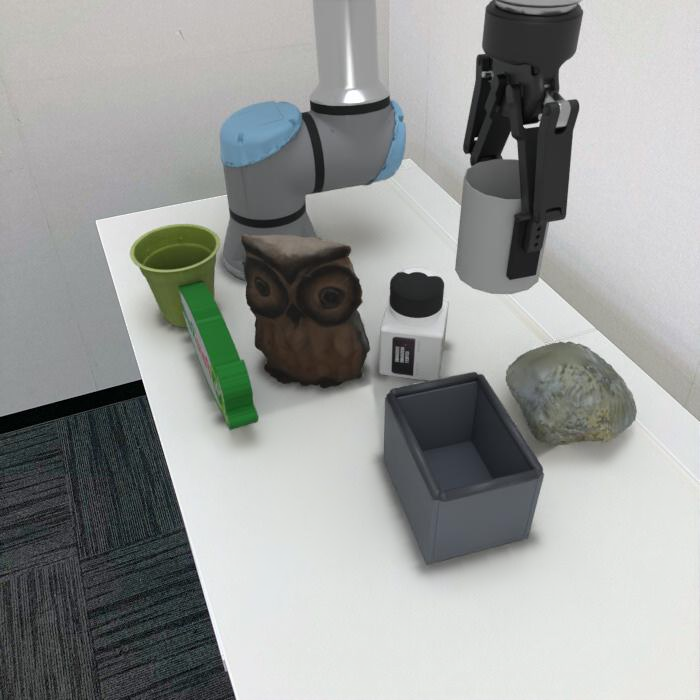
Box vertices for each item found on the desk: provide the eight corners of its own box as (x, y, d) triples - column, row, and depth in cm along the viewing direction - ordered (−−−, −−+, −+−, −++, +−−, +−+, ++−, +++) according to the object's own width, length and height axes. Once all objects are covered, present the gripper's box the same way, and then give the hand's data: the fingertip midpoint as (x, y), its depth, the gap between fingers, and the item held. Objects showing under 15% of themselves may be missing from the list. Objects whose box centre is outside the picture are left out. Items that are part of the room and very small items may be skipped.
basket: (428, 569, 69) (530, 542, 71) (435, 499, 62) (548, 472, 64) (381, 457, 80) (471, 437, 82) (383, 388, 73) (481, 368, 75)
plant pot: (137, 302, 103) (120, 236, 96) (215, 282, 107) (204, 216, 100) (158, 348, 95) (141, 279, 88) (241, 324, 99) (231, 256, 92)
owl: (373, 380, 90) (375, 245, 77) (283, 413, 86) (268, 276, 73) (329, 326, 99) (324, 197, 86) (245, 354, 94) (226, 222, 81)
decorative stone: (557, 387, 94) (622, 345, 88) (592, 485, 83) (667, 445, 78) (488, 345, 86) (554, 296, 81) (517, 446, 76) (594, 399, 71)
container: (438, 383, 90) (446, 300, 81) (378, 375, 91) (380, 293, 82) (444, 345, 95) (452, 264, 87) (388, 338, 97) (390, 257, 88)
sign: (261, 443, 82) (253, 379, 76) (235, 451, 81) (224, 387, 75) (205, 317, 101) (194, 258, 94) (183, 323, 100) (171, 263, 93)
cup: (557, 275, 70) (576, 183, 64) (497, 304, 67) (511, 209, 60) (497, 240, 75) (509, 151, 69) (438, 265, 72) (445, 174, 65)
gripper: (438, -24, 62) (425, 207, 77) (560, 45, 46) (514, 320, 61) (516, -31, 64) (488, 197, 78) (659, 34, 48) (591, 304, 62)
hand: (499, 250), depth 69 cm, fingers closed on cup, 8 cm apart
